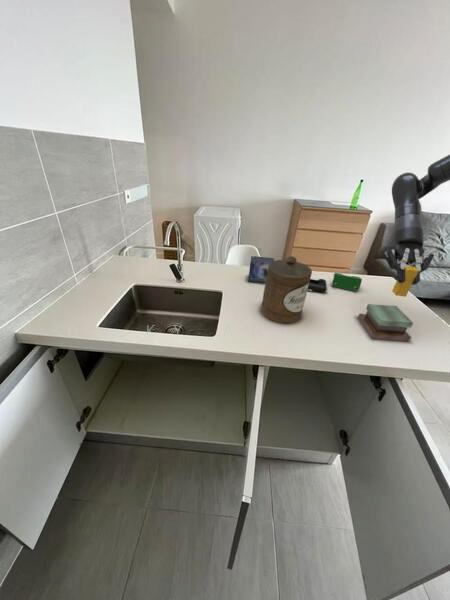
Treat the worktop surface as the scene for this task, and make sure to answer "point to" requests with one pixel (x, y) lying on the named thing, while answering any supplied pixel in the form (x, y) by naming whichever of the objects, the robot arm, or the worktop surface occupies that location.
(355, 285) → the green block
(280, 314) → the wooden container
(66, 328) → the worktop surface
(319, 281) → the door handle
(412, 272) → the bar
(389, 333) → the two-tone stepped base
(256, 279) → the small box
